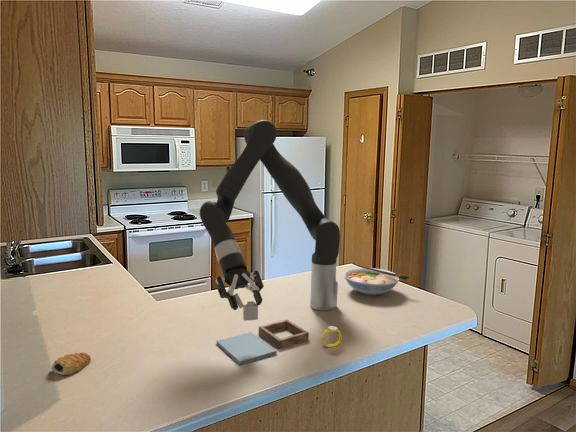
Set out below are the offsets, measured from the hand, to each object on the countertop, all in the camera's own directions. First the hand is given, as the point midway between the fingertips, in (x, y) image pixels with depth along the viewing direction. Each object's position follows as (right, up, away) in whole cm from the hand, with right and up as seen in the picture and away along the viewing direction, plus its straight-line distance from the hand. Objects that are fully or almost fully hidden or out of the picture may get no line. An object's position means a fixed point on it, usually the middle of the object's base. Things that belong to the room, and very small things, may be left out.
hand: (248, 306), depth 126 cm
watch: (+25, -14, +6) cm, 29 cm away
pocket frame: (+10, -12, +12) cm, 20 cm away
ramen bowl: (+46, -6, +55) cm, 72 cm away
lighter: (-1, -4, +2) cm, 5 cm away
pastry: (-47, -15, -9) cm, 50 cm away
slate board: (-1, -13, +3) cm, 14 cm away
